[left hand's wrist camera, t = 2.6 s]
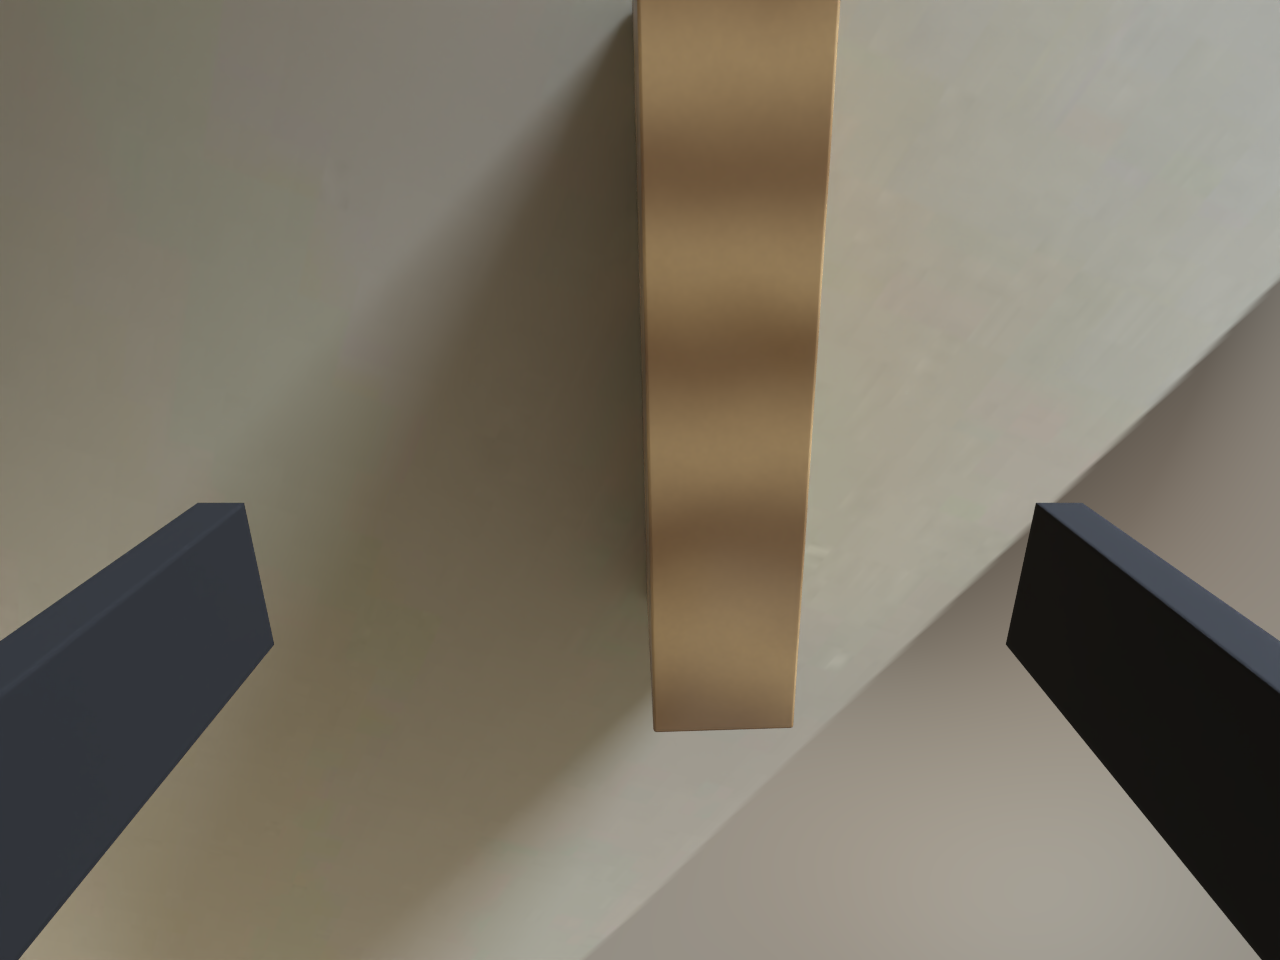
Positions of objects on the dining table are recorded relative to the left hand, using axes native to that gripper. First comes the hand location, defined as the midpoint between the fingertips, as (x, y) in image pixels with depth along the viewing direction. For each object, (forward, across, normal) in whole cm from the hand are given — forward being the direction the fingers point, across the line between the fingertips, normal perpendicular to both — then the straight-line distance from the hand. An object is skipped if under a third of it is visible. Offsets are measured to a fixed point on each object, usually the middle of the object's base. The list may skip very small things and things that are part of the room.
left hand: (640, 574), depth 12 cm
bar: (+18, -2, 0) cm, 18 cm away
